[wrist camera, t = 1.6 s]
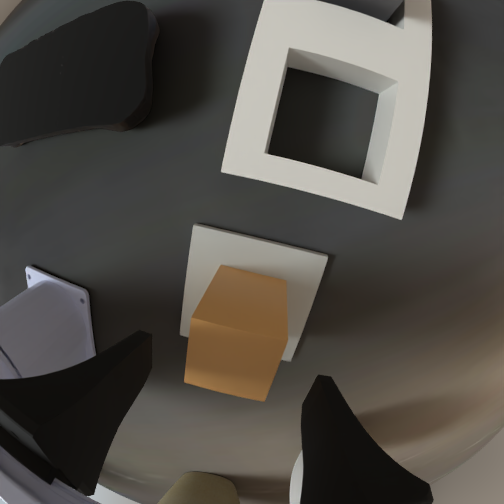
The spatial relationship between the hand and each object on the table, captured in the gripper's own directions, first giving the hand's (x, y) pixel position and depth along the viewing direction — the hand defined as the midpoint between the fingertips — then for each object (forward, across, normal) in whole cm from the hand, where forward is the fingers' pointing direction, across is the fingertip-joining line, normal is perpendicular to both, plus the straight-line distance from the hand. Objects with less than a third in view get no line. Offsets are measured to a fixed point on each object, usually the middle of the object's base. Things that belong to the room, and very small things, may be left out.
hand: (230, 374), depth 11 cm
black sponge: (+8, +16, -12) cm, 22 cm away
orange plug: (+7, 0, 0) cm, 7 cm away
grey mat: (+7, 0, 0) cm, 7 cm away
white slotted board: (+7, -2, -19) cm, 20 cm away
